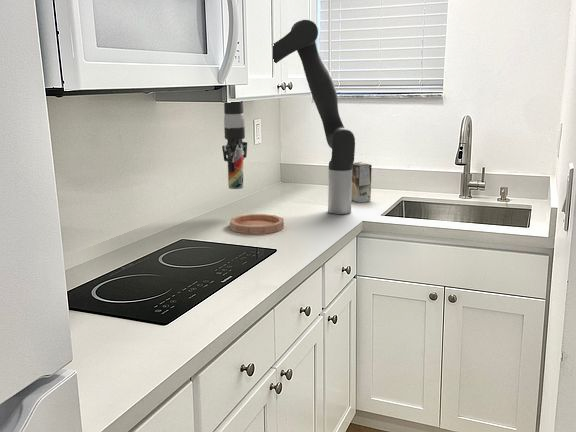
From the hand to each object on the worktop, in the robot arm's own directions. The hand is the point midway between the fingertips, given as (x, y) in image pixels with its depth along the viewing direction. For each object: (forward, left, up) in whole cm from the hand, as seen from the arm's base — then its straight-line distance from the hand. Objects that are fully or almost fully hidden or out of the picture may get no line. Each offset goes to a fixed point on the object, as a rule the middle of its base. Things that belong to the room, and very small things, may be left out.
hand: (235, 170), depth 218 cm
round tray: (+10, +15, -18) cm, 25 cm away
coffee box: (-51, +31, -18) cm, 62 cm away
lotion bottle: (0, 0, -7) cm, 7 cm away
